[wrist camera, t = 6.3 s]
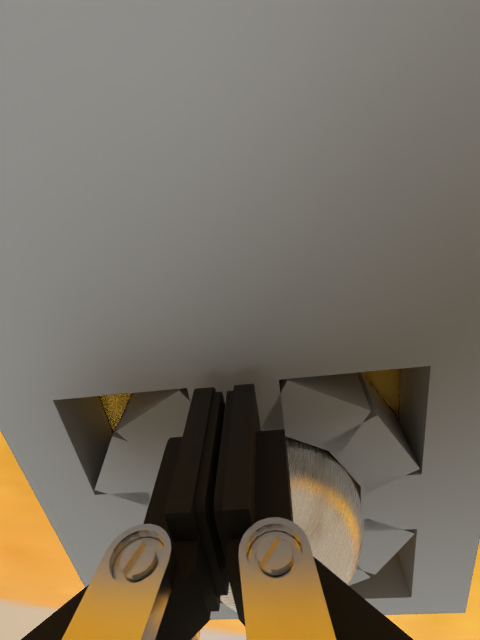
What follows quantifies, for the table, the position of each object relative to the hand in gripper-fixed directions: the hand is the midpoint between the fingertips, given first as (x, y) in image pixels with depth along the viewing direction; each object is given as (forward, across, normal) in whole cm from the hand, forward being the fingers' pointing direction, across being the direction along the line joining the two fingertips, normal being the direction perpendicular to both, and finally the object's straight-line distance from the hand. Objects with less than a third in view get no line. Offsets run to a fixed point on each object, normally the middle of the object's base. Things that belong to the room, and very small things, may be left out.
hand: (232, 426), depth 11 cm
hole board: (+4, 0, 0) cm, 4 cm away
